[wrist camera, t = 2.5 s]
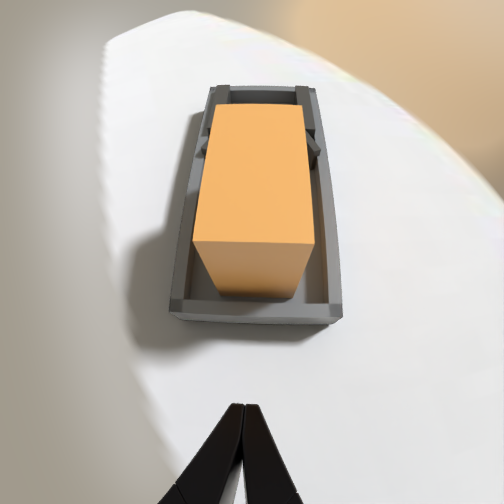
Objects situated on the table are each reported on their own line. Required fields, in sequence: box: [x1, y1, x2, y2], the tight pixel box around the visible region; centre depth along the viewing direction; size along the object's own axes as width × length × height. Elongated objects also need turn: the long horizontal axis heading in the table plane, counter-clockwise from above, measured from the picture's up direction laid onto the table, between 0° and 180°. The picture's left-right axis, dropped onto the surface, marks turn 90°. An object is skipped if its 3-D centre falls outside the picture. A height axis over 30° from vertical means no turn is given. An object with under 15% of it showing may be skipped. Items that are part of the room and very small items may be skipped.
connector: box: [193, 104, 315, 298], centre depth 16 cm, size 10×4×8 cm, turn 178°
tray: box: [169, 85, 343, 324], centre depth 21 cm, size 21×10×3 cm, turn 178°
